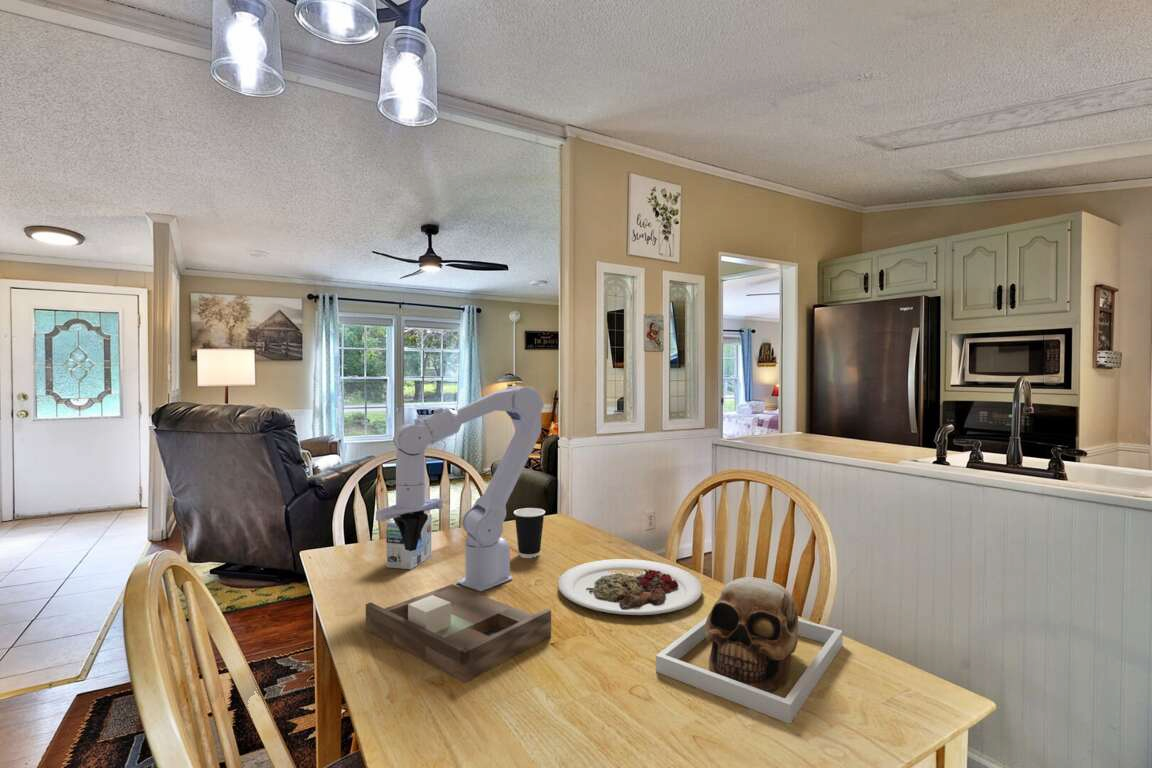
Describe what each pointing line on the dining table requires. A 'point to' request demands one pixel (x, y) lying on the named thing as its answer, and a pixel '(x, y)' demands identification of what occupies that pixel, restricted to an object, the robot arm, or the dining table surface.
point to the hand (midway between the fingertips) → (410, 549)
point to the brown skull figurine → (753, 633)
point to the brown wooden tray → (462, 632)
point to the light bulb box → (396, 548)
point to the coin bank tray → (744, 693)
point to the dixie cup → (529, 531)
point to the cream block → (430, 613)
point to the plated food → (630, 587)
